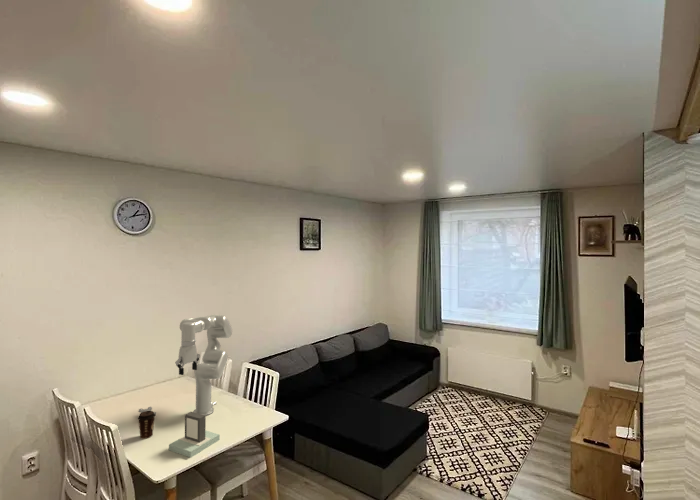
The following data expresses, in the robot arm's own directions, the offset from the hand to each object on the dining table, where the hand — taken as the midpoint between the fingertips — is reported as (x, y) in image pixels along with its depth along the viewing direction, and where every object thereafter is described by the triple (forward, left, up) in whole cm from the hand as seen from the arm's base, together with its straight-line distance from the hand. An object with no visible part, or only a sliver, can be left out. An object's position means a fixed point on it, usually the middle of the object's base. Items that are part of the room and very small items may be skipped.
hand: (188, 372), depth 226 cm
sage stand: (+12, +19, -33) cm, 40 cm away
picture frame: (+12, +19, -30) cm, 37 cm away
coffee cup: (+17, -13, -34) cm, 40 cm away
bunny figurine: (+2, -33, -34) cm, 48 cm away
